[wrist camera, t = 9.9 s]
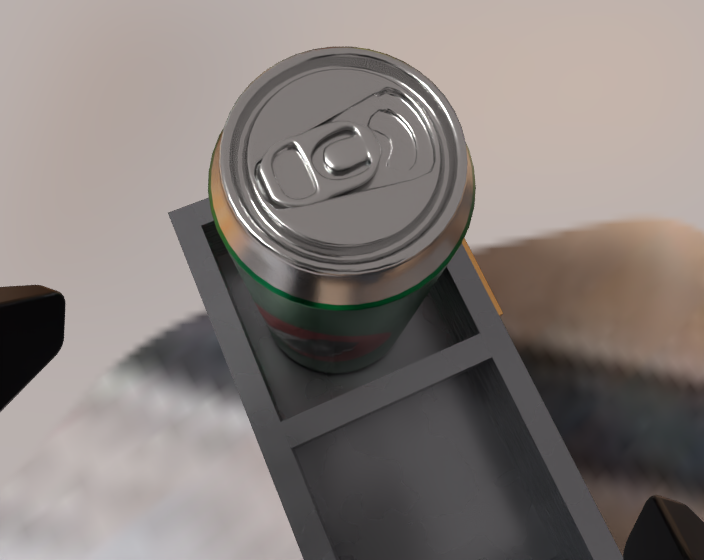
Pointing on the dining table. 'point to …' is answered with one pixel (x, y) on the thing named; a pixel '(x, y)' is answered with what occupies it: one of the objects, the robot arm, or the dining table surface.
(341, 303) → the soda can
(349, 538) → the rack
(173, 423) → the dining table surface
